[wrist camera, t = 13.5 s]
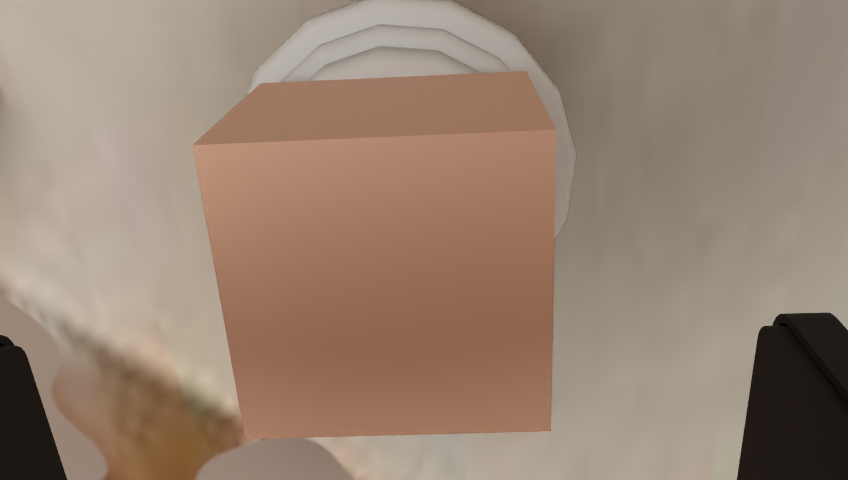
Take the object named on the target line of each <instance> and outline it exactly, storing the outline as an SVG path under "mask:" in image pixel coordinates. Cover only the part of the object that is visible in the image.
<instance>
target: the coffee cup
mask: <svg viewBox="0 0 848 480" xmlns="http://www.w3.org/2000/svg"><path fill="white" fill-rule="evenodd" d="M512 71H526V72H527V73H528V75H529V77H530V79H531V81H532V83H533V85H534V87H535V89H536V91H537V93H538V95H539V97H540V99H541V100H542V102H543V104H544V106H545V108H546V110H547V112H548V114H549V116H550V118H551V120H552V122H553V124H554V125H555V127H556V129H557V138H556V189H555V238H556V236H557V235H558V233H559V232H560V230H561V228H562V227H563V225H564V224H565V222H566V220H567V214H568V208H569V202H570V195H571V189H572V183H573V176H574V170H575V164H576V153H575V149H574V145H573V141H572V138H571V134H570V130H569V126H568V123H567V119H566V115H565V111H564V108H563V104H562V100H561V96H560V92H559V90H558V89H557V87H556V86H555V85H554V83H553V82H552V81H551V80H550V78H549V77H548V76H547V75H546V73H545V72H544V71H543V70H542V68H541V67H540V66H539V65H538V63H537V62H536V61H535V60H534V58H533V57H532V56H531V55H530V53H529V52H528V51H527V50H526V48H525V47H524V46H523V45H522V43H521V42H520V41H519V40H518V38H517V37H516V36H515V35H514V33H512V32H510V31H509V30H507V29H505V28H503V27H501V26H499V25H497V24H495V23H493V22H491V21H490V20H488V19H486V18H484V17H482V16H480V15H478V14H476V13H474V12H472V11H471V10H469V9H467V8H465V7H463V6H461V5H459V4H457V3H455V2H453V1H452V0H360V1H357V2H355V3H352V4H349V5H346V6H343V7H340V8H337V9H335V10H332V11H329V12H326V13H323V14H320V15H318V16H315V17H312V18H310V19H309V20H308V21H307V22H306V23H304V24H303V25H302V26H301V27H300V28H299V29H298V30H297V31H296V32H295V33H294V34H293V35H292V36H291V37H290V38H289V39H288V40H287V41H286V42H285V43H283V44H282V45H281V46H280V47H279V48H278V49H277V50H276V51H275V52H274V53H273V54H272V55H271V56H270V57H269V58H268V59H267V60H266V61H265V62H263V63H262V64H261V65H260V66H259V67H258V68H257V69H256V72H255V74H254V77H253V79H252V82H251V84H250V87H249V89H248V92H247V94H246V96H247V95H248V94H249V93H250V92H252V91H253V90H254V89H255V88H256V87H257V86H258V85H259V84H260V83H275V82H297V81H318V80H343V79H364V78H386V77H408V76H429V75H451V74H469V73H491V72H512ZM246 96H245V97H246Z"/></svg>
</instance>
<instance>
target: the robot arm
mask: <svg viewBox="0 0 848 480" xmlns="http://www.w3.org/2000/svg"><path fill="white" fill-rule="evenodd" d="M0 480H67V478H66V475H65V472H64V469H63V466H62V463H61V460H60V456H59V453H58V450H57V447H56V444H55V441H54V438H53V435H52V432H51V429H50V426H49V423H48V420H47V417H46V413H45V410H44V407H43V404H42V401H41V398H40V395H39V392H38V389H37V386H36V383H35V380H34V376H33V373H32V370H31V367H30V364H29V361H28V358H27V356H26V353H25V351H24V350H23V349H22V348H21V347H18V346H14V344H13V342H12V341H11V340H10V339H9V338H8V337H5V336H3V335H0ZM737 480H848V330H847V329H846V328H845V327H844V326H843V325H842V323H841V322H840V321H839V320H838V319H837V318H836V317H835V316H834V315H832V314H831V313H796V314H780V315H778V316H777V317H776V319H775V321H774V322H773V326H764V327H762V328H761V330H760V332H759V335H758V339H757V346H756V353H755V360H754V367H753V374H752V380H751V387H750V394H749V401H748V408H747V415H746V422H745V428H744V435H743V442H742V449H741V456H740V463H739V470H738V476H737Z"/></svg>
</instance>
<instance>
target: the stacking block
mask: <svg viewBox="0 0 848 480" xmlns="http://www.w3.org/2000/svg"><path fill="white" fill-rule="evenodd" d="M556 138H557V129H556V127H555V125H554V124H553V122H552V120H551V118H550V116H549V114H548V112H547V110H546V108H545V106H544V104H543V102H542V100H541V99H540V97H539V95H538V93H537V91H536V89H535V87H534V85H533V83H532V81H531V79H530V77H529V75H528V73H527V72H526V71H512V72H491V73H469V74H451V75H429V76H408V77H386V78H364V79H343V80H318V81H297V82H275V83H260V84H259V85H258V86H257V87H256V88H255V89H254V90H253V91H252V92H250V93H249V94H248V95H247V96H246V97H245V98H244V99H243V100H242V101H241V102H240V103H238V104H237V105H236V106H235V107H234V108H233V109H232V110H231V111H230V112H229V113H227V114H226V115H225V116H224V117H223V118H222V119H221V120H220V121H219V122H218V123H217V124H215V125H214V126H213V127H212V128H211V129H210V130H209V131H208V132H207V133H206V134H205V135H203V136H202V137H201V138H200V139H199V140H198V141H197V142H196V143H195V144H194V145H193V149H194V155H195V161H196V166H197V172H198V177H199V183H200V189H201V194H202V200H203V205H204V211H205V216H206V222H207V228H208V233H209V239H210V244H211V250H212V256H213V261H214V267H215V272H216V278H217V283H218V289H219V295H220V300H221V306H222V311H223V317H224V323H225V328H226V334H227V339H228V345H229V350H230V356H231V362H232V367H233V373H234V378H235V384H236V390H237V395H238V401H239V406H240V412H241V417H242V423H243V429H244V434H245V439H260V438H300V437H340V436H379V435H419V434H458V433H498V432H537V431H551V396H552V344H553V292H554V241H555V189H556Z"/></svg>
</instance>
